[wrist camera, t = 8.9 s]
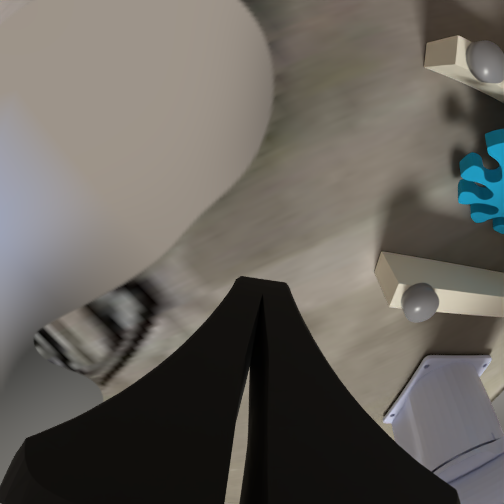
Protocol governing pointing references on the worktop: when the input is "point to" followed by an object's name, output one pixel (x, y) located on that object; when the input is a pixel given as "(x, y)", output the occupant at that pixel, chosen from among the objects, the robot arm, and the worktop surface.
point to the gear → (484, 183)
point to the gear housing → (437, 272)
